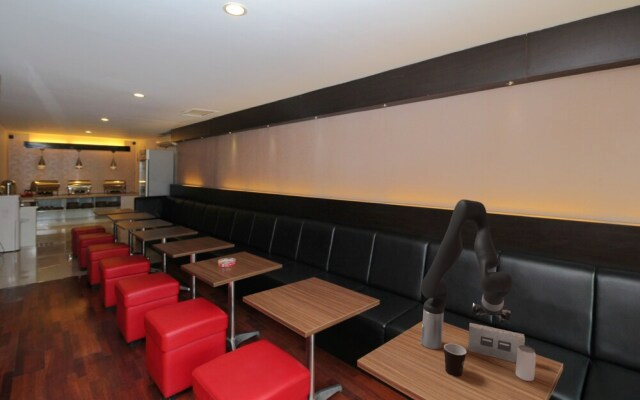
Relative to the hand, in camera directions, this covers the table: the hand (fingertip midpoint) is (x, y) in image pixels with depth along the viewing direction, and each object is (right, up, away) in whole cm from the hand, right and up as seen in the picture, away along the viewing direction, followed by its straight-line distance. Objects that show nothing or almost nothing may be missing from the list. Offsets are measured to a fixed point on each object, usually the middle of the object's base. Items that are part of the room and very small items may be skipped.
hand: (489, 318), depth 135 cm
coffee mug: (-16, -21, -4) cm, 27 cm away
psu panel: (+7, -20, +9) cm, 23 cm away
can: (+11, -22, -7) cm, 25 cm away
